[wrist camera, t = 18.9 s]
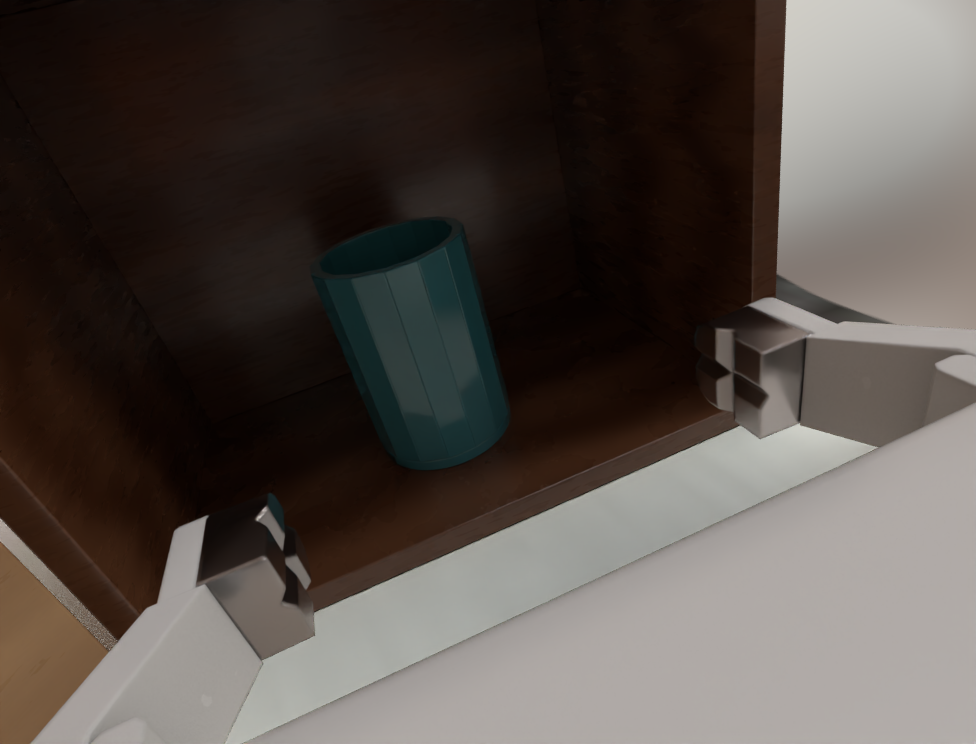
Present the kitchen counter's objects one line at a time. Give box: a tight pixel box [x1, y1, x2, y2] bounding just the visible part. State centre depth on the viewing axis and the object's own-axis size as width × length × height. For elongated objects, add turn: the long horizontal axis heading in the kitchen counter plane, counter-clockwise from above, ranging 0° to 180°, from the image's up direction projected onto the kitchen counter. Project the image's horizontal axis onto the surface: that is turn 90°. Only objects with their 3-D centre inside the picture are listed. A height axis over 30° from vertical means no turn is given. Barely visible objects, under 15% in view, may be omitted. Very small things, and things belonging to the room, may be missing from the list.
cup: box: [309, 216, 511, 470], centre depth 27 cm, size 7×7×10 cm
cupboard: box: [0, 0, 786, 641], centre depth 25 cm, size 18×28×24 cm, turn 110°
